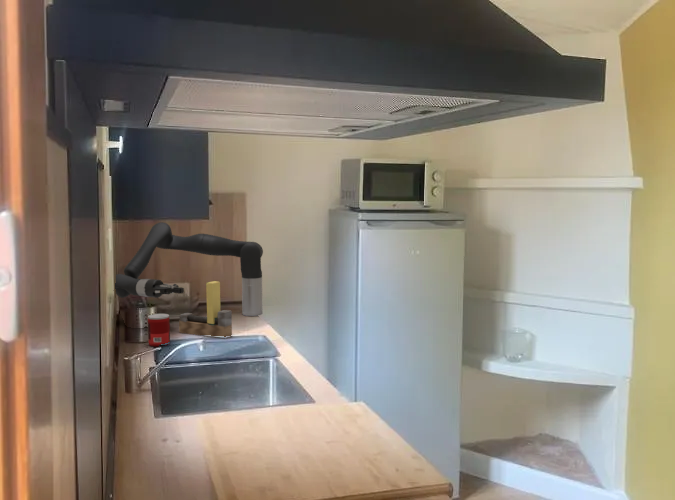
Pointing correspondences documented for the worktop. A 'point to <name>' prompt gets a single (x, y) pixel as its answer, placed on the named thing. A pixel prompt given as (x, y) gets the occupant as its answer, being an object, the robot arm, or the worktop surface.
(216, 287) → the yellow rectangular block
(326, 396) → the worktop surface
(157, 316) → the canned food
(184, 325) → the wooden rack
